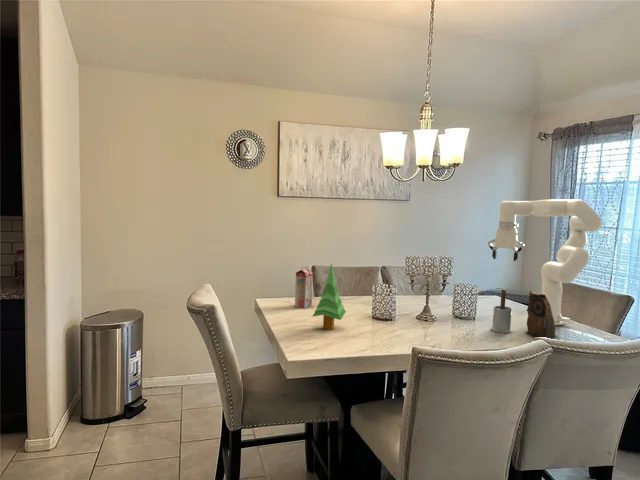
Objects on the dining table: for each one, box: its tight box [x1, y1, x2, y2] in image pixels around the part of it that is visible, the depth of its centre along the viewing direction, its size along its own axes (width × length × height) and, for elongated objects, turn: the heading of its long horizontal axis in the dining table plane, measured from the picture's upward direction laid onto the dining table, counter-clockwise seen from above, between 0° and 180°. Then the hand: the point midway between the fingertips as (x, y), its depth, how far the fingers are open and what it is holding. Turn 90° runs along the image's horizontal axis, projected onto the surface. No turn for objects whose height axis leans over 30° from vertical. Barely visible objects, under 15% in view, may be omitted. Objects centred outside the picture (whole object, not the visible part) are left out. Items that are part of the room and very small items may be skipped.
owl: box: [526, 290, 556, 339], centre depth 207 cm, size 13×13×20 cm
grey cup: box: [491, 305, 513, 334], centre depth 213 cm, size 8×8×11 cm
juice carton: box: [294, 265, 314, 309], centre depth 247 cm, size 7×7×22 cm
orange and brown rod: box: [499, 288, 507, 309], centre depth 213 cm, size 4×4×19 cm
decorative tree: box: [312, 263, 347, 331], centre depth 204 cm, size 14×16×30 cm
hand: (504, 259), depth 227 cm, fingers open, 9 cm apart
